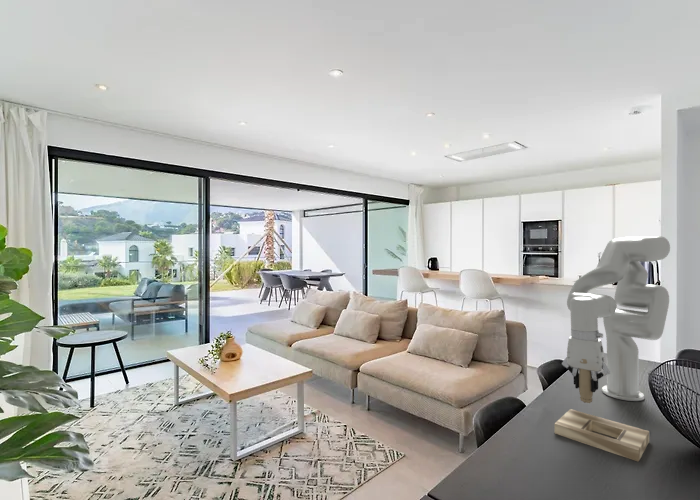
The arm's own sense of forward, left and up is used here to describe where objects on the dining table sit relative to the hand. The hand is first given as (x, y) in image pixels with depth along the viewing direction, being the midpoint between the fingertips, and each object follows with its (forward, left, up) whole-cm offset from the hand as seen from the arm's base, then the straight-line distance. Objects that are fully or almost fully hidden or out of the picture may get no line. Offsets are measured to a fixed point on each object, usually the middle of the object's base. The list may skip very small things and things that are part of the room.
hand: (585, 388), depth 124 cm
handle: (0, 0, -4) cm, 4 cm away
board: (+15, +8, -8) cm, 19 cm away
